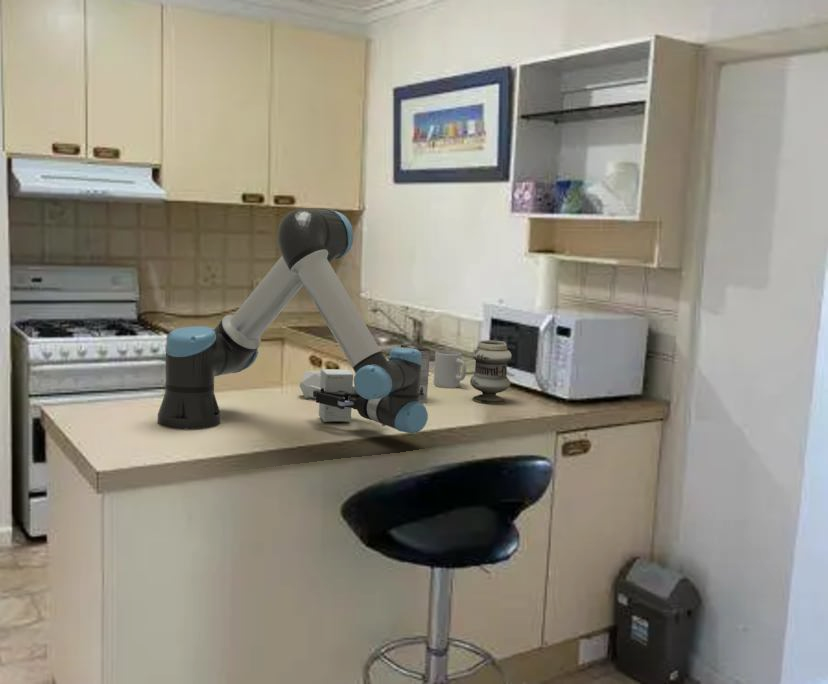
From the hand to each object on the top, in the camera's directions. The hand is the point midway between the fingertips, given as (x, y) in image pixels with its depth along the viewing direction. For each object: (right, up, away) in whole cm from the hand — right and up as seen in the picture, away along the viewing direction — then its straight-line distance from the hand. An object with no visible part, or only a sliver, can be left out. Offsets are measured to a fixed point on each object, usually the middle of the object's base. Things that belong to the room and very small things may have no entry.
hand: (326, 389), depth 232 cm
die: (-6, -4, +25) cm, 26 cm away
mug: (+35, -2, +54) cm, 64 cm away
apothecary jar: (+46, -6, +35) cm, 58 cm away
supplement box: (+2, -8, -2) cm, 8 cm away
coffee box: (+23, -5, +30) cm, 38 cm away
